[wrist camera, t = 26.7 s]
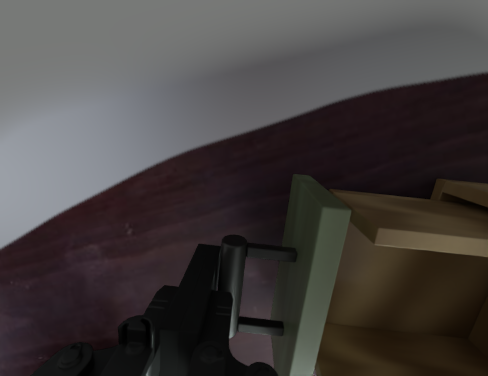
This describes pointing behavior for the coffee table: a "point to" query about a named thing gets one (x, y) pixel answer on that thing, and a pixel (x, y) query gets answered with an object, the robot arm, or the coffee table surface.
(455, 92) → the coffee table surface
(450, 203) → the drawer
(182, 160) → the coffee table surface
